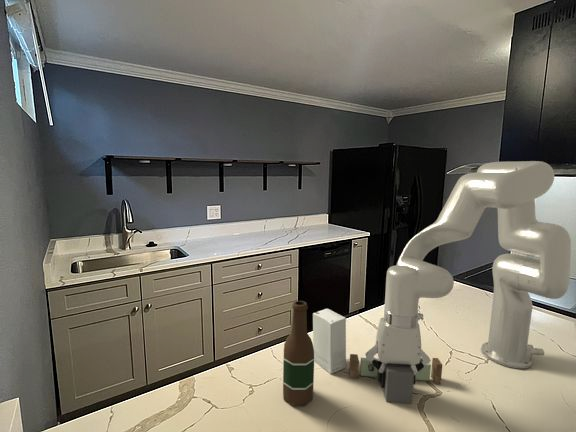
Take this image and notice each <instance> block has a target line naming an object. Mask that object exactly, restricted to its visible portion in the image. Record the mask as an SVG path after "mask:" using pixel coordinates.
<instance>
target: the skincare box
mask: <svg viewBox="0 0 576 432" xmlns="http://www.w3.org/2000/svg"><path fill="white" fill-rule="evenodd" d="M346 318H347V317H345V316H343V315H341V314H339V313H337V312H335V311H333V310H332V309H329V308H324V309H322V310H318V311H316V312H313V313H312V343H313V348H314V363H316V364H318V365H319V366H320V367H322V368H323V370H326V372H327V373H329V374H334V373H336V372H339V371H341V370H344V369H346V367H347V355H346V354H347V334H346V333H347V319H346Z"/></svg>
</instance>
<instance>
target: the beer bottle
mask: <svg viewBox="0 0 576 432" xmlns="http://www.w3.org/2000/svg"><path fill="white" fill-rule="evenodd" d="M308 309H309V307H308V303H307V302H306V301H303V300H296V301H294V302H293V303H292V311H293V312H292V321H291V322H292V323H291V330H290V333H289V335H288V336H287V337H286V339H285V341H284V345H283V376H282V398H283V401H284V402H286V403H287V404H289V405H290V406H292V407H306V406H307V405H308V404H309V403H311V401H313V398H314V382H315V381H314V380H315V379H314V378H315V361H314V348H313V339H312V338H311V337H310V335H309V334H308V320H307V317H308V316H307V310H308Z"/></svg>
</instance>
